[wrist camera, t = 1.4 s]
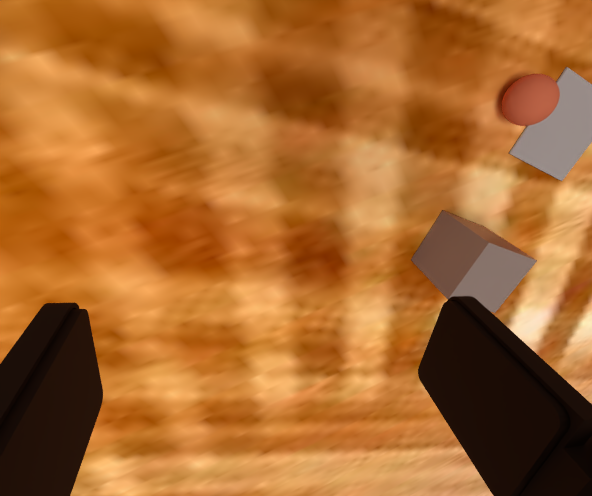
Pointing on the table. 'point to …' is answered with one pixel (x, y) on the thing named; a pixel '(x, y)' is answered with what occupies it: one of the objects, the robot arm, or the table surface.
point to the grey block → (471, 261)
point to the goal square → (560, 130)
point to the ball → (530, 99)
